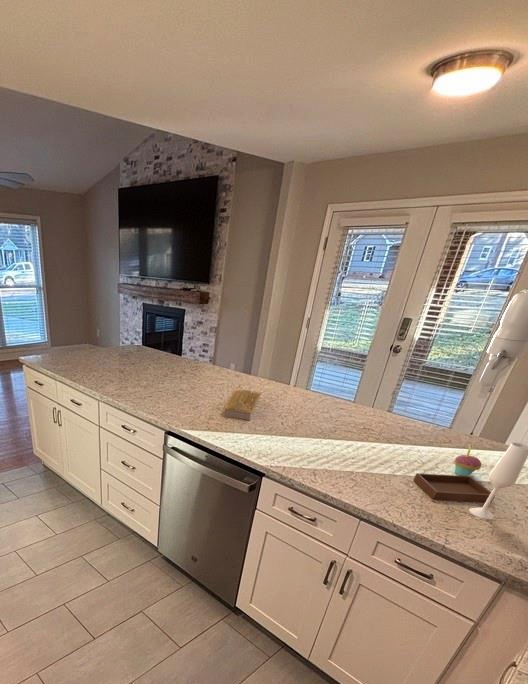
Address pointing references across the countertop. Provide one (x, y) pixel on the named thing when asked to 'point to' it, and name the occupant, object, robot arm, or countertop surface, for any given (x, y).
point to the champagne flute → (504, 474)
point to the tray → (452, 487)
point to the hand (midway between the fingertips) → (484, 394)
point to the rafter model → (241, 404)
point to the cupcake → (466, 464)
